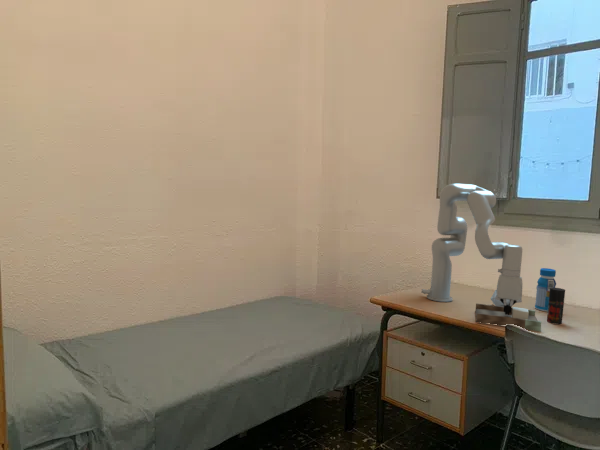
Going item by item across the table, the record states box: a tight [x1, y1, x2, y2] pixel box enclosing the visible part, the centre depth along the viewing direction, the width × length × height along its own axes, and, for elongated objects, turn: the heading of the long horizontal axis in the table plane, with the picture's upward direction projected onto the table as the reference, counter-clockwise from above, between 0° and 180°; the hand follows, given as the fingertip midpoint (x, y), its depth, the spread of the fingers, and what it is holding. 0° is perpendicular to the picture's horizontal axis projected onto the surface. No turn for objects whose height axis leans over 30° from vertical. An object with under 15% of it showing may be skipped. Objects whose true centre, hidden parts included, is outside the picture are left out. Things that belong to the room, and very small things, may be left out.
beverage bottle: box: [534, 267, 557, 313], centre depth 231 cm, size 8×8×20 cm
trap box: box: [475, 303, 542, 332], centre depth 209 cm, size 25×19×4 cm
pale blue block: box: [511, 306, 529, 320], centre depth 207 cm, size 6×6×4 cm
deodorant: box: [546, 287, 566, 325], centre depth 210 cm, size 6×6×15 cm
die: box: [490, 289, 510, 307], centre depth 233 cm, size 8×9×10 cm
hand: (506, 313), depth 209 cm, fingers closed
